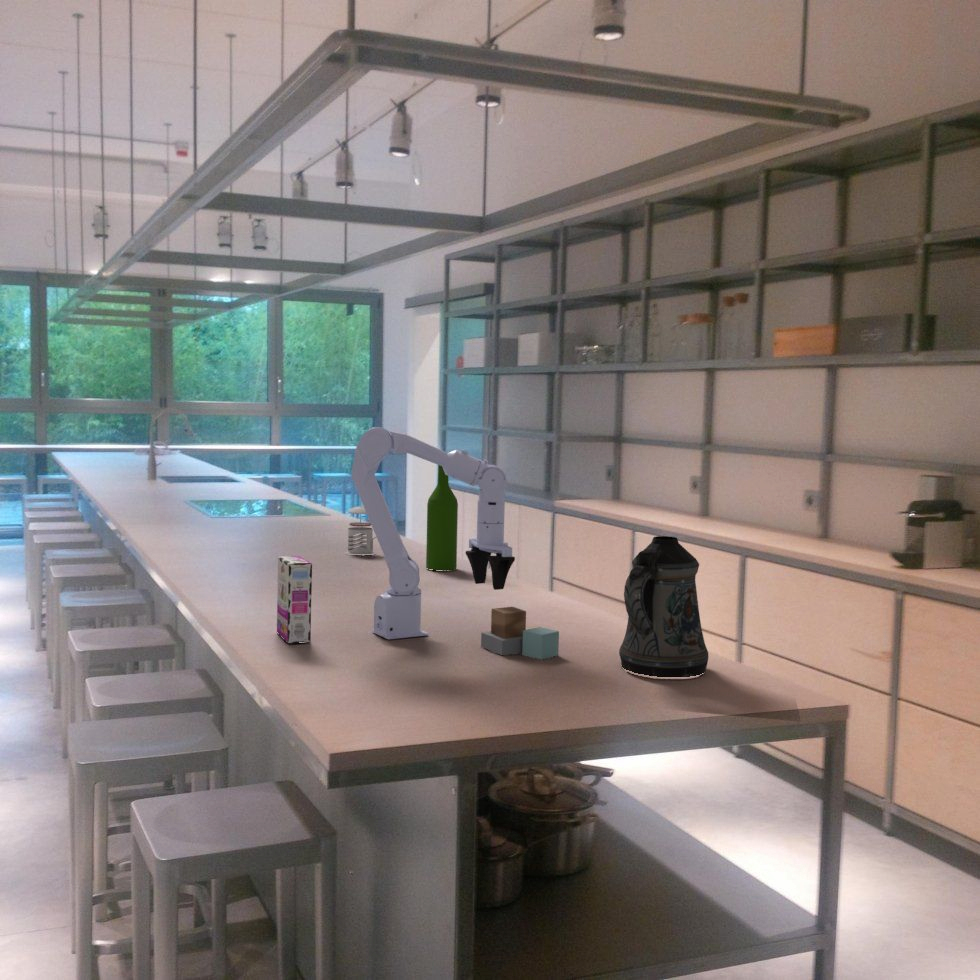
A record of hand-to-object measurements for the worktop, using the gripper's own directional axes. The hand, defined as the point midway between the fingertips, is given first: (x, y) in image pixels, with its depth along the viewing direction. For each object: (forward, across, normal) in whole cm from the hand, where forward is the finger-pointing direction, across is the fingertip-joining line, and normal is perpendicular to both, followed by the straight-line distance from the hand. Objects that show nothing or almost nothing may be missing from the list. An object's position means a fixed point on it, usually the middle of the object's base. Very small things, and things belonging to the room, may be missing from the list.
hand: (489, 586), depth 220 cm
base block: (+10, -13, +3) cm, 17 cm away
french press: (+11, +116, -23) cm, 119 cm away
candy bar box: (+11, +14, +38) cm, 42 cm away
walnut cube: (+7, -13, +3) cm, 15 cm away
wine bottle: (+11, +80, -32) cm, 87 cm away
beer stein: (+11, -40, -14) cm, 44 cm away
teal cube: (+10, -20, 0) cm, 23 cm away
